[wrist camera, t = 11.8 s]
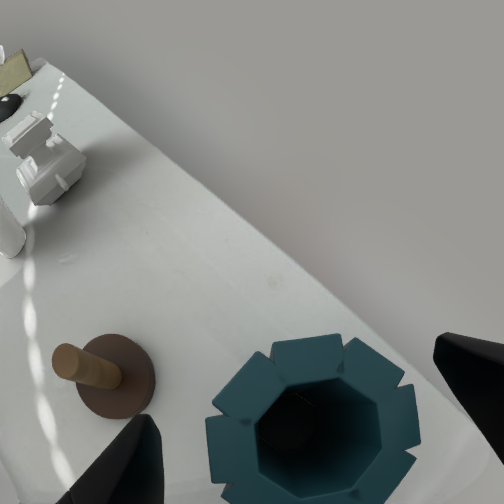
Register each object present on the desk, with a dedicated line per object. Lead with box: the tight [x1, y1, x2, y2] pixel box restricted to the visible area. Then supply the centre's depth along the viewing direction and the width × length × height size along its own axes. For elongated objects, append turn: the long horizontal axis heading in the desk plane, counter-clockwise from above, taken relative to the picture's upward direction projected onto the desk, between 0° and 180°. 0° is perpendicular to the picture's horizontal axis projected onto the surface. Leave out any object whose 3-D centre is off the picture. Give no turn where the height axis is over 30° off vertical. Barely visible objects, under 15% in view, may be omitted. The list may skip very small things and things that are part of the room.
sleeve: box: [205, 333, 421, 504], centre depth 11 cm, size 6×6×10 cm
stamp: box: [2, 111, 87, 206], centre depth 22 cm, size 9×7×8 cm
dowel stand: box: [52, 334, 155, 419], centre depth 14 cm, size 6×6×6 cm
